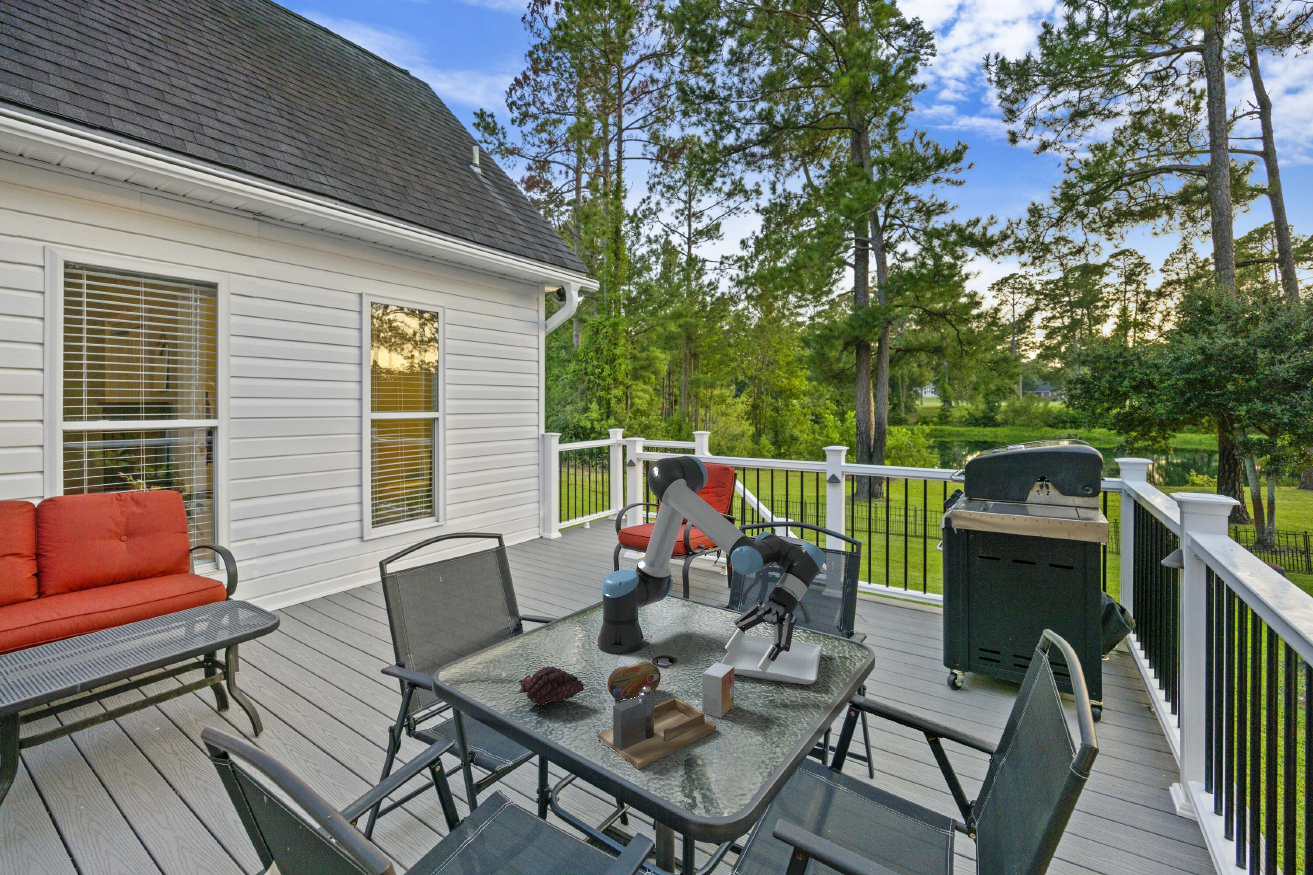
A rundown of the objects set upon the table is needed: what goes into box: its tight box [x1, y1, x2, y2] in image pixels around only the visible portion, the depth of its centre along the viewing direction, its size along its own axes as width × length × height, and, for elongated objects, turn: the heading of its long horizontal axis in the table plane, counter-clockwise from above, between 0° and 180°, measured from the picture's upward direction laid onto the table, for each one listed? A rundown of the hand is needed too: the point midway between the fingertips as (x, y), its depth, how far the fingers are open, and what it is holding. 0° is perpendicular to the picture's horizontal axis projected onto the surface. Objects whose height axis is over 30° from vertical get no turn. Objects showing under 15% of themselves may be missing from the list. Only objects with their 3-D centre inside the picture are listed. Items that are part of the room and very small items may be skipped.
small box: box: [701, 662, 735, 719], centre depth 155 cm, size 8×6×10 cm
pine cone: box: [518, 665, 585, 706], centre depth 157 cm, size 18×10×10 cm, turn 85°
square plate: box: [721, 634, 823, 685], centre depth 181 cm, size 27×27×4 cm
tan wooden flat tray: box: [597, 697, 717, 770], centre depth 142 cm, size 15×24×4 cm, turn 130°
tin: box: [606, 661, 661, 702], centre depth 162 cm, size 15×3×8 cm, turn 117°
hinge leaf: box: [612, 686, 655, 751], centre depth 138 cm, size 4×10×11 cm, turn 130°
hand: (743, 659), depth 157 cm, fingers open, 13 cm apart
